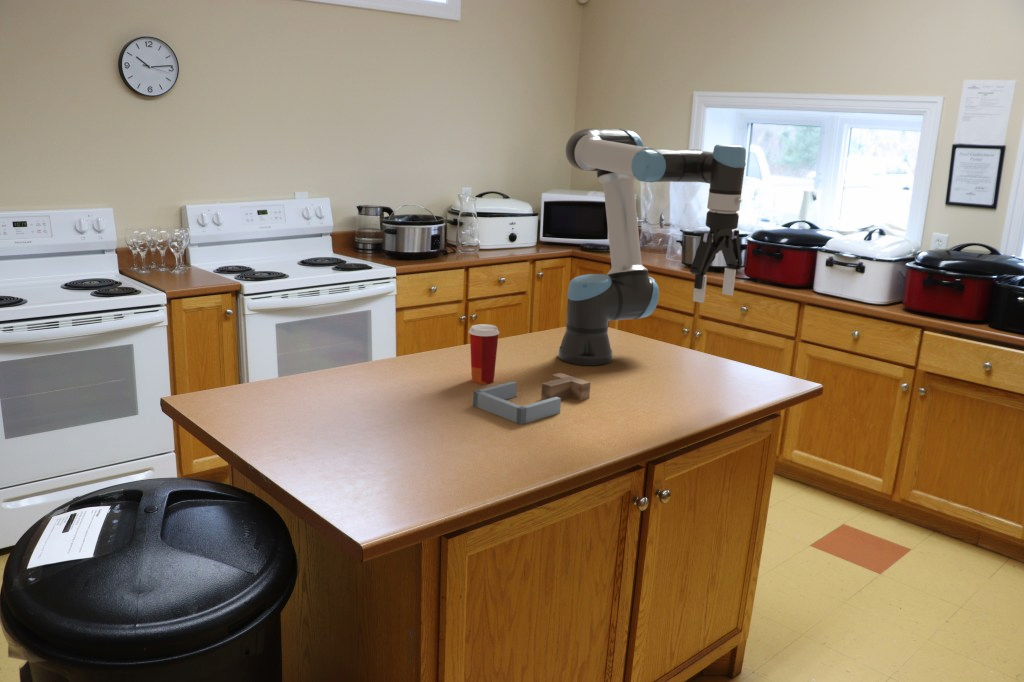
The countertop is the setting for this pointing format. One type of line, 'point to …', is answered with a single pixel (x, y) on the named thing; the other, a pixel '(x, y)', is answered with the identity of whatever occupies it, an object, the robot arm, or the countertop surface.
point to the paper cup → (483, 352)
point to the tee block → (565, 387)
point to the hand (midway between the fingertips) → (713, 298)
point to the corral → (497, 404)
